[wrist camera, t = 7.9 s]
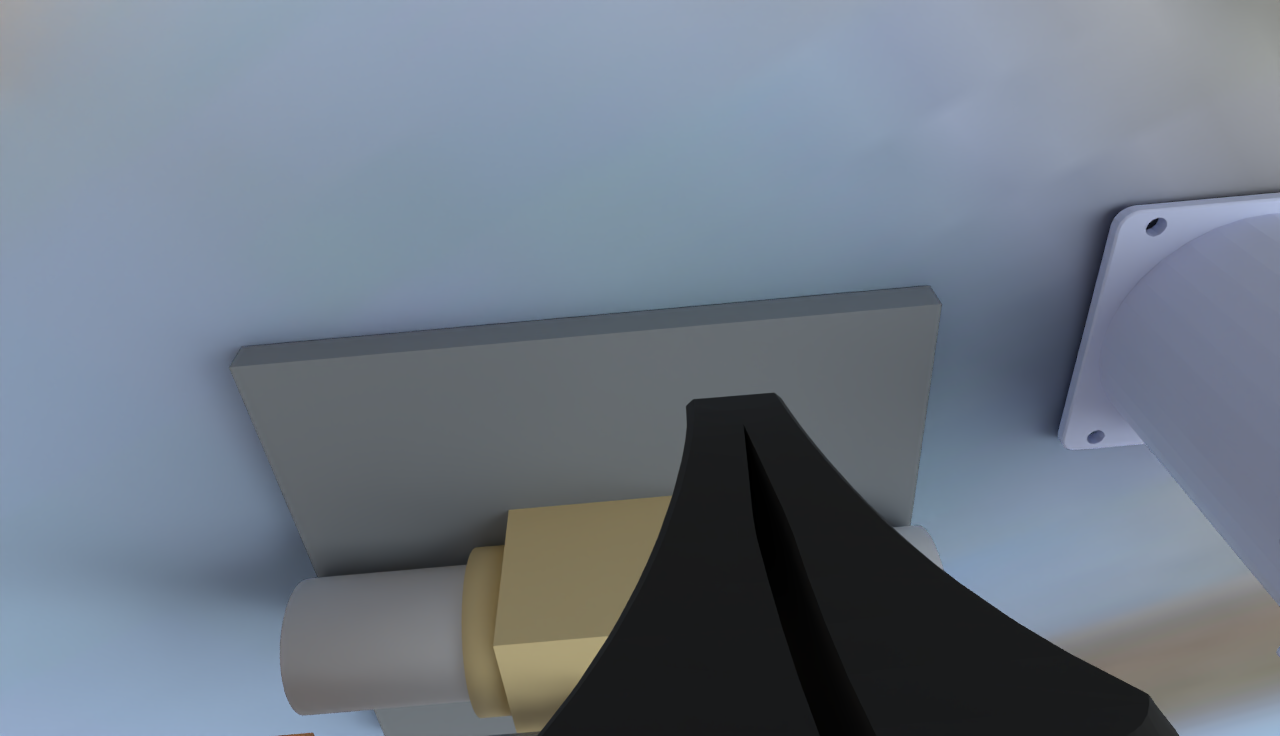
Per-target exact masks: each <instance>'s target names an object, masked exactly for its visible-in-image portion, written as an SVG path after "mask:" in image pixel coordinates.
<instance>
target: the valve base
mask: <svg viewBox="0 0 1280 736" xmlns="http://www.w3.org/2000/svg"><path fill="white" fill-rule="evenodd" d="M941 306H942V304H941V302H940V301H939V299H938V298H937V296H936V295H935V293H934V292H933V290H932V288H931V287H930V286H920V287H908V288H897V289H886V290H875V291H864V292H852V293H841V294H830V295H819V296H807V297H796V298H785V299H774V300H763V301H751V302H740V303H729V304H718V305H706V306H695V307H684V308H673V309H661V310H650V311H639V312H628V313H617V314H605V315H594V316H583V317H572V318H560V319H549V320H538V321H527V322H515V323H504V324H493V325H482V326H471V327H459V328H448V329H437V330H426V331H414V332H403V333H392V334H381V335H369V336H358V337H347V338H336V339H325V340H313V341H302V342H291V343H280V344H268V345H257V346H246V347H241V349H240V350H239V352H238V354H237V355H236V357H235V359H234V360H233V362H232V363H231V365H230V367H229V368H230V371H231V373H232V376H233V378H234V380H235V383H236V385H237V387H238V390H239V392H240V394H241V397H242V399H243V402H244V404H245V406H246V409H247V411H248V413H249V416H250V418H251V420H252V423H253V425H254V428H255V430H256V432H257V435H258V437H259V439H260V442H261V444H262V447H263V449H264V451H265V454H266V456H267V458H268V461H269V463H270V465H271V468H272V470H273V473H274V475H275V477H276V480H277V482H278V484H279V487H280V489H281V491H282V494H283V496H284V499H285V501H286V503H287V506H288V508H289V510H290V513H291V515H292V517H293V520H294V522H295V525H296V527H297V529H298V532H299V534H300V536H301V539H302V541H303V544H304V546H305V548H306V551H307V553H308V555H309V558H310V560H311V562H312V565H313V567H314V570H315V572H316V574H317V577H318V578H307V579H304V580H302V581H301V582H300V583H299V584H298V585H297V586H296V587H295V589H294V590H293V592H292V594H291V596H290V599H289V601H288V604H287V607H286V610H285V614H284V618H283V624H282V630H281V640H280V667H281V676H282V682H283V686H284V691H285V694H286V697H287V699H288V701H289V704H290V705H291V707H292V708H293V710H294V711H295V712H296V713H298V714H300V715H316V714H327V713H339V712H351V711H362V710H374V711H375V714H376V716H377V719H378V721H379V723H380V726H381V728H382V730H383V733H384V735H385V736H489V735H501V734H513V733H525V732H537V731H541V730H542V729H543V728H544V726H545V725H546V724H547V723H548V721H549V720H550V719H551V717H552V716H553V715H554V714H555V712H556V711H557V710H558V709H559V707H560V706H561V705H562V703H563V702H564V701H565V700H566V698H567V697H568V696H569V694H570V693H571V692H572V690H573V689H574V688H575V686H576V685H577V683H578V682H579V680H580V679H581V677H582V676H583V674H584V673H585V671H586V670H587V668H588V667H589V665H590V664H591V662H592V661H593V659H594V658H595V656H596V655H597V653H598V652H599V650H600V648H601V647H602V645H603V644H604V642H605V641H606V639H607V638H608V636H609V634H610V633H611V631H612V629H613V628H614V626H615V624H616V622H617V621H618V619H619V617H620V615H621V613H622V611H623V610H624V608H625V606H626V604H627V602H628V600H629V598H630V596H631V595H632V593H633V591H634V589H635V587H636V585H637V583H638V581H639V579H640V577H641V574H642V572H643V570H644V568H645V566H646V564H647V561H648V559H649V557H650V555H651V552H652V550H653V547H654V545H655V542H656V540H657V538H658V535H659V532H660V529H661V527H662V524H663V521H664V518H665V515H666V512H667V509H668V507H669V504H670V501H671V498H672V495H673V491H674V487H675V484H676V480H677V476H678V472H679V468H680V464H681V460H682V455H683V450H684V444H685V438H686V429H687V420H686V405H687V404H688V403H690V402H691V401H692V400H693V399H701V398H713V397H725V396H737V395H750V394H762V393H774V392H775V393H776V394H777V395H778V396H779V397H781V398H782V400H783V401H784V403H785V404H786V406H787V407H788V409H789V410H790V411H791V413H792V414H793V416H794V417H795V418H796V420H797V421H798V423H799V424H800V425H801V426H802V428H803V429H804V430H805V432H806V433H807V434H808V436H809V437H810V438H811V439H812V441H813V442H814V443H815V444H816V446H817V447H818V448H819V449H820V450H821V452H822V453H823V454H824V455H825V456H826V458H827V459H828V460H829V461H830V462H831V463H832V464H833V466H834V467H835V468H836V469H837V470H838V471H839V472H840V473H841V475H842V476H843V477H844V478H845V479H846V480H847V481H848V482H849V484H850V485H851V486H852V487H853V488H854V489H855V490H856V491H857V492H858V493H859V494H860V495H861V496H862V497H863V498H864V500H865V501H866V502H867V503H868V504H869V505H870V506H871V507H873V508H874V509H875V510H876V511H877V512H878V513H879V514H880V515H881V516H882V517H883V518H884V519H885V520H886V521H887V522H888V523H889V524H890V525H891V526H892V527H893V528H894V529H895V530H896V531H897V532H899V533H900V534H901V535H902V536H903V537H904V538H905V539H906V540H907V541H909V542H910V543H911V544H912V545H913V546H914V547H916V548H917V549H918V550H919V551H920V552H921V553H923V554H924V555H925V556H926V557H927V558H929V559H930V560H931V561H932V562H933V563H935V564H936V565H937V566H938V567H940V568H941V569H942V570H944V569H943V566H942V563H941V559H940V556H939V554H938V551H937V549H936V546H935V544H934V542H933V540H932V538H931V536H930V535H929V533H928V532H927V531H926V530H925V529H924V528H923V527H922V526H919V525H915V526H910V525H911V518H912V511H913V504H914V497H915V490H916V483H917V475H918V468H919V461H920V454H921V447H922V440H923V433H924V426H925V419H926V412H927V405H928V398H929V391H930V383H931V376H932V369H933V362H934V355H935V348H936V341H937V334H938V327H939V320H940V313H941Z"/></svg>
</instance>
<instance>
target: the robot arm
mask: <svg viewBox="0 0 1280 736" xmlns="http://www.w3.org/2000/svg"><path fill="white" fill-rule="evenodd" d="M1156 218H1158V221H1157V223H1156V225H1154V226H1153V227H1152V228H1150V229H1147V230H1146V227H1147V225H1148V223H1150V222H1151V221H1152V220H1153V219H1156ZM686 420H687V429H686V438H685V444H684V450H683V455H682V460H681V464H680V468H679V472H678V476H677V480H676V484H675V487H674V491H673V495H672V498H671V501H670V504H669V507H668V509H667V512H666V515H665V518H664V521H663V524H662V527H661V529H660V532H659V535H658V538H657V540H656V542H655V545H654V547H653V550H652V552H651V555H650V557H649V559H648V561H647V564H646V566H645V568H644V570H643V572H642V574H641V577H640V579H639V581H638V583H637V585H636V587H635V589H634V591H633V593H632V595H631V596H630V598H629V600H628V602H627V604H626V606H625V608H624V610H623V611H622V613H621V615H620V617H619V619H618V621H617V622H616V624H615V626H614V628H613V629H612V631H611V633H610V634H609V636H608V638H607V639H606V641H605V642H604V644H603V645H602V647H601V648H600V650H599V652H598V653H597V655H596V656H595V658H594V659H593V661H592V662H591V664H590V665H589V667H588V668H587V670H586V671H585V673H584V674H583V676H582V677H581V679H580V680H579V682H578V683H577V685H576V686H575V688H574V689H573V690H572V692H571V693H570V694H569V696H568V697H567V698H566V700H565V701H564V702H563V703H562V705H561V706H560V707H559V709H558V710H557V711H556V712H555V714H554V715H553V716H552V717H551V719H550V720H549V721H548V723H547V724H546V725H545V726H544V728H543V729H542V730H541V732H540V733H539V734H538V735H537V736H1179V735H1178V733H1177V732H1176V730H1175V729H1174V728H1173V726H1172V725H1171V724H1170V722H1169V721H1168V720H1167V719H1166V717H1165V716H1164V715H1163V713H1162V712H1161V711H1160V710H1159V708H1158V707H1157V706H1156V704H1155V703H1154V701H1153V700H1152V699H1151V697H1150V696H1149V695H1148V694H1147V693H1145V692H1143V691H1141V690H1139V689H1137V688H1135V687H1133V686H1131V685H1130V684H1128V683H1126V682H1124V681H1122V680H1120V679H1118V678H1116V677H1114V676H1112V675H1110V674H1108V673H1106V672H1104V671H1102V670H1101V669H1099V668H1097V667H1095V666H1093V665H1091V664H1089V663H1087V662H1085V661H1083V660H1081V659H1079V658H1077V657H1075V656H1073V655H1072V654H1070V653H1068V652H1066V651H1064V650H1063V649H1061V648H1059V647H1058V646H1056V645H1054V644H1053V643H1051V642H1049V641H1048V640H1046V639H1044V638H1042V637H1041V636H1039V635H1037V634H1036V633H1034V632H1032V631H1031V630H1029V629H1027V628H1026V627H1024V626H1022V625H1021V624H1019V623H1018V622H1016V621H1015V620H1013V619H1011V618H1010V617H1008V616H1007V615H1005V614H1004V613H1002V612H1001V611H999V610H998V609H997V608H995V607H994V606H992V605H991V604H989V603H988V602H986V601H985V600H984V599H982V598H981V597H979V596H978V595H976V594H975V593H973V592H972V591H971V590H969V589H968V588H966V587H965V586H963V585H962V584H960V583H959V582H958V581H956V580H955V579H954V578H953V577H951V576H950V575H949V574H947V573H946V572H945V571H944V570H942V569H941V568H940V567H938V566H937V565H936V564H935V563H933V562H932V561H931V560H930V559H929V558H927V557H926V556H925V555H924V554H923V553H921V552H920V551H919V550H918V549H917V548H916V547H914V546H913V545H912V544H911V543H910V542H909V541H907V540H906V539H905V538H904V537H903V536H902V535H901V534H900V533H899V532H897V531H896V530H895V529H894V528H893V527H892V526H891V525H890V524H889V523H888V522H887V521H886V520H885V519H884V518H883V517H882V516H881V515H880V514H879V513H878V512H877V511H876V510H875V509H874V508H873V507H871V506H870V505H869V504H868V503H867V502H866V501H865V500H864V498H863V497H862V496H861V495H860V494H859V493H858V492H857V491H856V490H855V489H854V488H853V487H852V486H851V485H850V484H849V482H848V481H847V480H846V479H845V478H844V477H843V476H842V475H841V473H840V472H839V471H838V470H837V469H836V468H835V467H834V466H833V464H832V463H831V462H830V461H829V460H828V459H827V458H826V456H825V455H824V454H823V453H822V452H821V450H820V449H819V448H818V447H817V446H816V444H815V443H814V442H813V441H812V439H811V438H810V437H809V436H808V434H807V433H806V432H805V430H804V429H803V428H802V426H801V425H800V424H799V423H798V421H797V420H796V418H795V417H794V416H793V414H792V413H791V411H790V410H789V409H788V407H787V406H786V404H785V403H784V401H783V400H782V398H781V397H779V396H778V395H777V394H776V393H775V392H774V393H762V394H750V395H737V396H725V397H713V398H701V399H693V400H692V401H691V402H690V403H688V404H687V405H686ZM1093 431H1096V432H1095V433H1094V434H1092V435H1089V434H1090V433H1092V432H1093ZM1088 435H1089V436H1088ZM1058 439H1059V440H1060V442H1061V443H1062V444H1063V446H1064V447H1065V448H1067V449H1069V450H1083V449H1094V448H1106V447H1117V446H1128V445H1140V444H1146V445H1147V447H1148V448H1149V449H1150V450H1151V452H1152V453H1153V454H1154V455H1155V456H1156V458H1157V459H1158V460H1159V461H1160V462H1161V464H1162V465H1163V466H1164V467H1165V468H1166V470H1167V471H1168V472H1169V473H1170V475H1171V476H1172V477H1173V478H1174V479H1175V481H1176V482H1177V483H1178V484H1179V485H1180V487H1181V488H1182V489H1183V490H1184V491H1185V493H1186V494H1187V495H1188V496H1189V498H1190V499H1191V500H1192V501H1193V502H1194V504H1195V505H1196V506H1197V507H1198V508H1199V510H1200V511H1201V512H1202V513H1203V514H1204V516H1205V517H1206V518H1207V519H1208V521H1209V522H1210V523H1211V524H1212V525H1213V527H1214V528H1215V529H1216V530H1217V531H1218V533H1219V534H1220V535H1221V536H1222V537H1223V539H1224V540H1225V541H1226V542H1227V544H1228V545H1229V546H1230V547H1231V548H1232V550H1233V551H1234V552H1235V553H1236V554H1237V556H1238V557H1239V558H1240V559H1241V560H1242V562H1243V563H1244V564H1245V565H1246V567H1247V568H1248V569H1249V570H1250V571H1251V573H1252V574H1253V575H1254V576H1255V577H1256V579H1257V580H1258V581H1259V582H1260V583H1261V585H1262V586H1263V587H1264V588H1265V590H1266V591H1267V592H1268V593H1269V594H1270V596H1271V597H1272V598H1273V599H1274V600H1275V602H1276V603H1277V604H1278V605H1279V606H1280V192H1279V193H1268V194H1257V195H1246V196H1234V197H1223V198H1212V199H1201V200H1190V201H1179V202H1167V203H1156V204H1145V205H1135V206H1131V207H1127V208H1125V209H1124V210H1122V211H1120V212H1119V213H1118V214H1117V215H1116V216H1115V218H1114V219H1113V221H1112V224H1111V227H1110V230H1109V234H1108V238H1107V242H1106V246H1105V250H1104V254H1103V258H1102V262H1101V266H1100V270H1099V274H1098V277H1097V281H1096V285H1095V289H1094V293H1093V297H1092V301H1091V305H1090V309H1089V313H1088V317H1087V321H1086V325H1085V328H1084V332H1083V336H1082V340H1081V344H1080V348H1079V352H1078V356H1077V360H1076V364H1075V368H1074V372H1073V376H1072V379H1071V383H1070V387H1069V391H1068V395H1067V399H1066V403H1065V407H1064V411H1063V415H1062V419H1061V423H1060V426H1059V430H1058ZM1276 653H1277V655H1278V656H1279V657H1280V647H1279V648H1278V649H1277V652H1276Z"/></svg>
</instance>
